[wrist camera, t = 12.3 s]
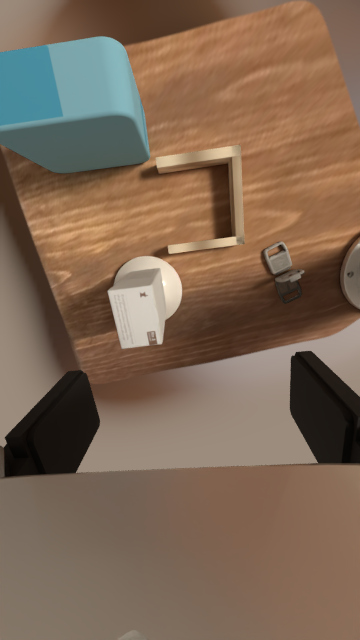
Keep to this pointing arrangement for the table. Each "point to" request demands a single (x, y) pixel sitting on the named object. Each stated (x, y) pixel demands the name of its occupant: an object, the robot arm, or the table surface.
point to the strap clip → (278, 265)
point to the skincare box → (139, 308)
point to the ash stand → (233, 160)
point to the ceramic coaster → (168, 277)
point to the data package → (72, 106)
